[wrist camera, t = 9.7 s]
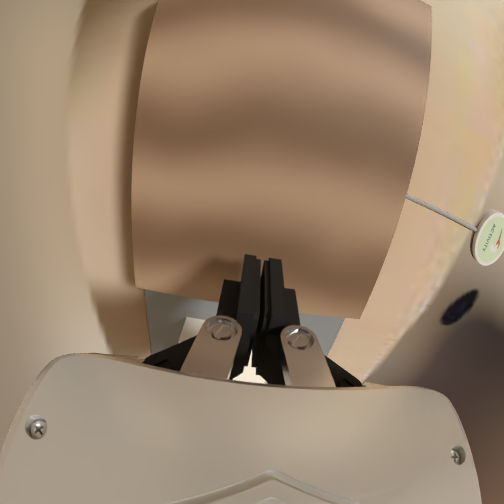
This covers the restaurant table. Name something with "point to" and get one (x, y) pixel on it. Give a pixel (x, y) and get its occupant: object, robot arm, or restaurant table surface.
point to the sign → (479, 233)
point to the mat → (179, 307)
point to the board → (277, 143)
